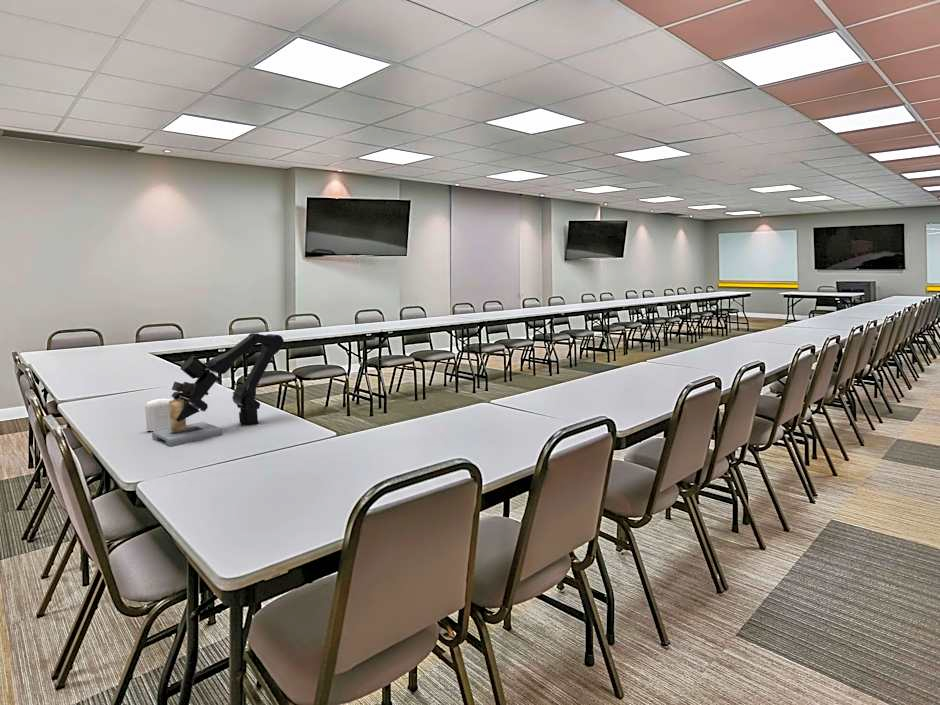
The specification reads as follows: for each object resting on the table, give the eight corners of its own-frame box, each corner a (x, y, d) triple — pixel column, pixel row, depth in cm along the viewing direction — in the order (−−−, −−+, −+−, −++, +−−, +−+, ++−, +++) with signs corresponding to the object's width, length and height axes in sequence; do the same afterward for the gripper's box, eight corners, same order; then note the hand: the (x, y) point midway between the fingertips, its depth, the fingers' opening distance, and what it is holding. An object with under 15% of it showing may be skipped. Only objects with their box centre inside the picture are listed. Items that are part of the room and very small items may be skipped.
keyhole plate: (203, 427, 229) (202, 421, 229) (222, 434, 219) (222, 428, 219) (152, 438, 215) (151, 432, 215) (170, 446, 205) (169, 439, 205)
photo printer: (175, 426, 232) (173, 396, 230) (177, 428, 228) (174, 398, 227) (146, 430, 226) (143, 399, 225) (147, 433, 223) (144, 401, 221)
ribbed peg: (189, 436, 217) (186, 399, 215) (182, 439, 212) (179, 402, 210) (176, 435, 218) (173, 399, 216) (169, 439, 213) (166, 402, 211)
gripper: (174, 370, 221) (146, 404, 214) (196, 375, 209) (167, 411, 202) (197, 387, 228) (170, 420, 221) (219, 393, 216) (191, 428, 209)
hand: (174, 420), depth 213 cm, fingers closed on ribbed peg, 5 cm apart
